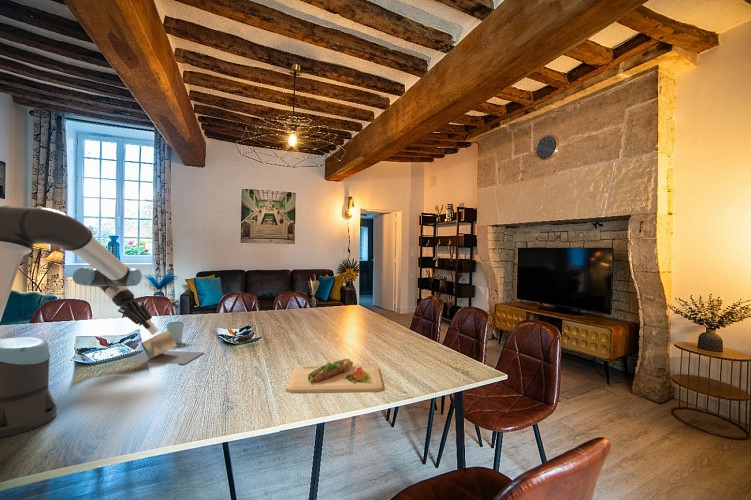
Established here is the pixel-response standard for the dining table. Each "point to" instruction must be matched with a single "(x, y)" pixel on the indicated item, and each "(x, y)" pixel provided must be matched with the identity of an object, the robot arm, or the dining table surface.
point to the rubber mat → (166, 357)
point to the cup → (176, 330)
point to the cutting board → (335, 378)
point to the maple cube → (158, 344)
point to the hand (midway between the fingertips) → (155, 332)
